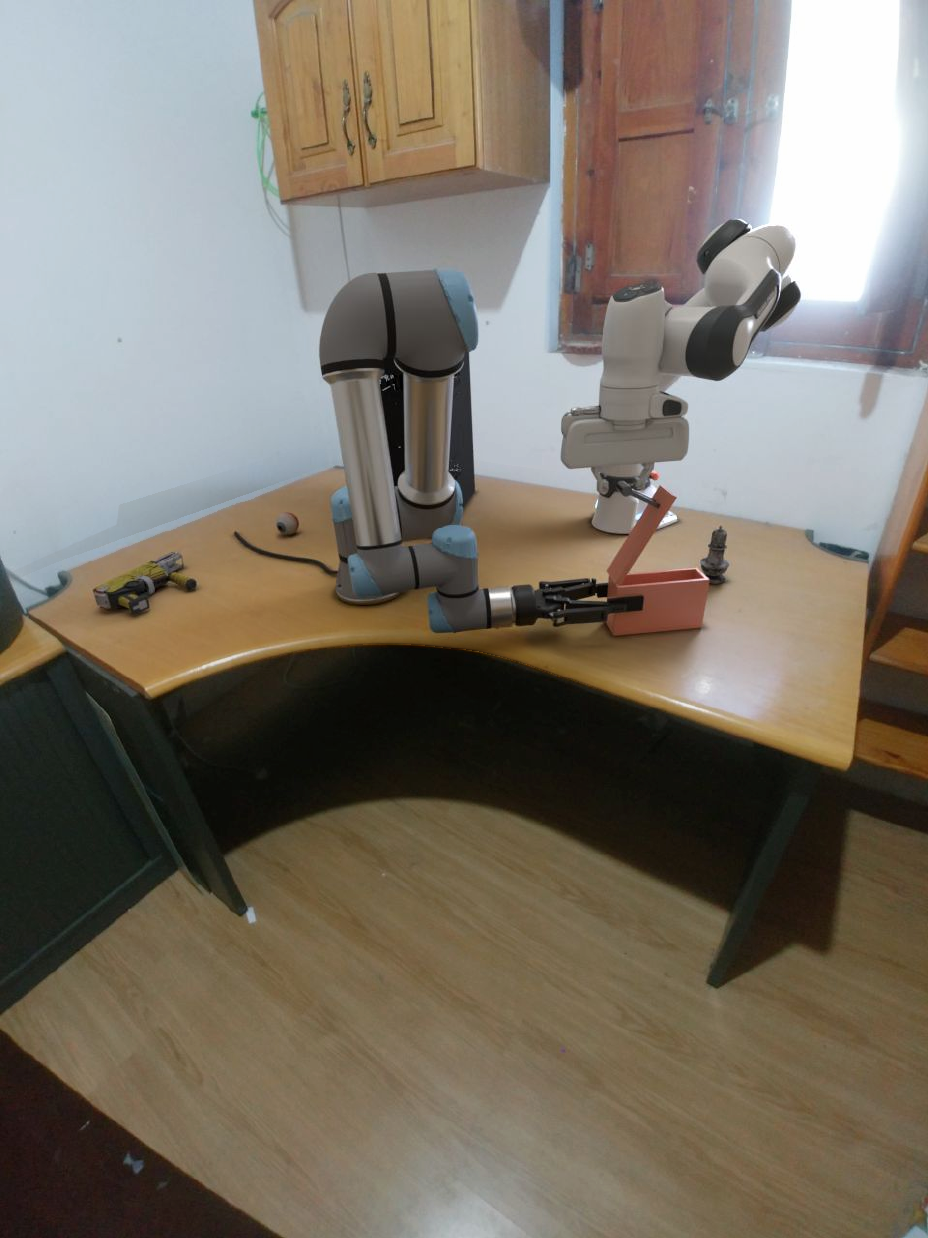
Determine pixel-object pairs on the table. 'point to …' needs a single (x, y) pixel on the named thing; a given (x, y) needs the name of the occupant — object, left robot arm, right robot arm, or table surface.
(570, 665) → the table surface
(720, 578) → the salt shaker
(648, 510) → the lid
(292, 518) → the eyeball
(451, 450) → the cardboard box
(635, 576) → the chest
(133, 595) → the toy gun
